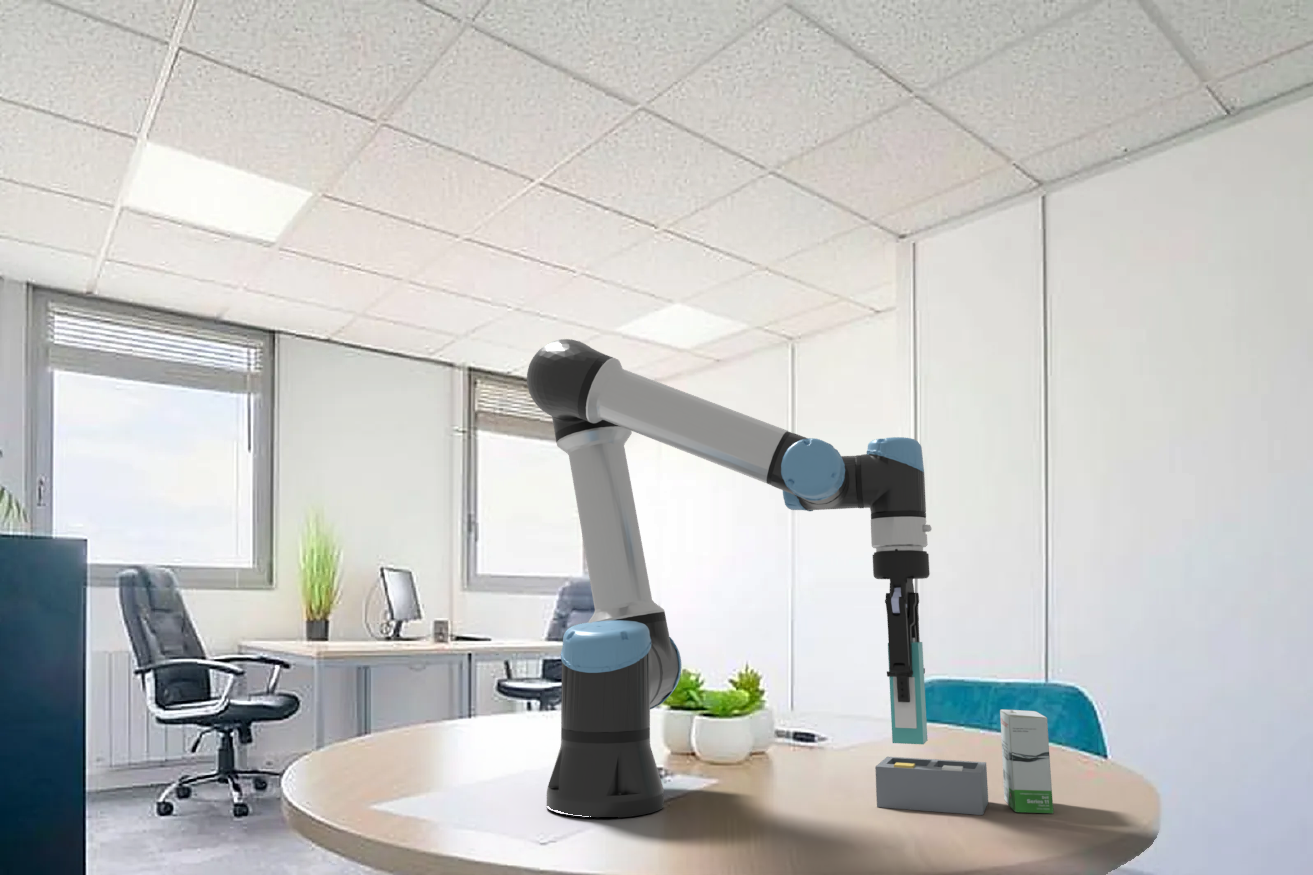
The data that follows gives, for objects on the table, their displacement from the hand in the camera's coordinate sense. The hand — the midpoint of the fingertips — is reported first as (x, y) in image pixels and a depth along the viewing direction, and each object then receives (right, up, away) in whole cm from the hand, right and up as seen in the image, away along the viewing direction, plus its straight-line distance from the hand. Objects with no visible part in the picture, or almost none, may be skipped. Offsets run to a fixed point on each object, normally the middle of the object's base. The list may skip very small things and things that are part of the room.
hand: (908, 725), depth 132 cm
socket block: (+2, -9, -4) cm, 10 cm away
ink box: (+14, -9, -5) cm, 18 cm away
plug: (0, -2, 0) cm, 2 cm away
